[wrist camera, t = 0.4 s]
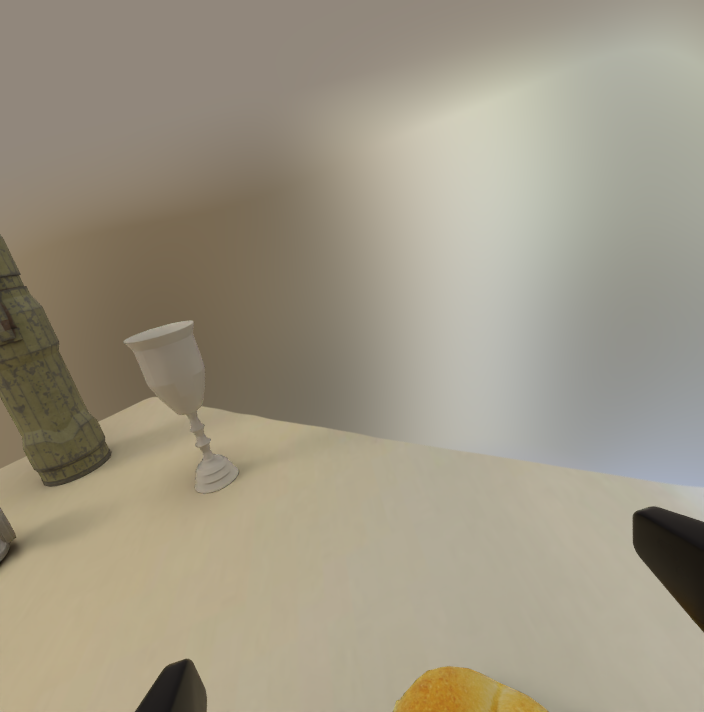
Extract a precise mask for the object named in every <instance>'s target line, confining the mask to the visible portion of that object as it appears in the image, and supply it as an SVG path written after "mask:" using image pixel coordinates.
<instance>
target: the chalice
mask: <svg viewBox="0 0 704 712" xmlns="http://www.w3.org/2000/svg"><path fill="white" fill-rule="evenodd" d="M193 326H194V322H193V321H183V322H178V323H173V324H169V325H165V326H161V327H158V328H154V329H151V330H148V331H145V332H142V333H139V334H136V335H134V336H132V337H130V338H127V339H126V340H124V343H125V344H126V345H127V346H128V347H129V348H130V349H131V350H133V352H134V354H135V356H136V359H137V361H138V363H139V366H140V369H141V371H142V373H143V376H144V378H145V380H146V383H147V385H148V387H149V388H150V389H151V390H152V391H153V392H154V393H155V394H156V395H157V397H158V398H159V399H160V400H161V401H163V402H164V403H165V404H166V405H167V406H168V407H170V408H171V409H172V410H173V411H174V412H176V413H177V414H178V415H187V417H188V418H189V419H190V424H191V429H190V431H191V432H193V433H194V434H195V436H196V438H197V442H196V444H195V446H196V447H199V448H200V450H201V451H202V452H203V459H202V461H201V462H200V463H199V464H198V467H197V469H196V478H195V480H196V484H195V490H196V491H197V492H199V493H210V492H214V491H217V490H219V489H221V488H224V487H225V486H227V485H228V484H230V483H231V482H232V481H233V480H234V479H235V478H236V477H237V475H238V472H239V470H238V468H237V467H236V466H234V465H233V463H232V462H231V461H229V460H228V458H227V457H225V456H223V455H219V454H218V455H216V454H213V453H212V452H211V450H210V445H209V443H210V441H211V439H210V438H207V437H206V436H205V434H204V426H205V425H204V424H202V423H201V422H200V420H199V419H198V417H197V410H198V409H199V408H200V407H201V406H202V404H203V396H204V387H205V366H204V363H203V360H202V358H201V355H200V352H199V349H198V346H197V344H196V341H195V338H194V335H193Z"/></svg>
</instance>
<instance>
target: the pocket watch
mask: <svg viewBox="0 0 704 712" xmlns="http://www.w3.org/2000/svg"><path fill="white" fill-rule="evenodd" d="M15 538H16V535H15V532H14V530H13V528H12V527H11V525H10V523H9V521H8V520H7V518H6V516H5V515H4V513H3V511H2V510H1V508H0V561H1V560H2V559H3V558H4V557H5V556H6V554H7V552H8V550H9V542H11V541H13V539H15Z"/></svg>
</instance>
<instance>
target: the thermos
mask: <svg viewBox="0 0 704 712" xmlns="http://www.w3.org/2000/svg"><path fill="white" fill-rule="evenodd" d="M19 275H20V272H19V270H18V268H17V266H16V264H15V262H14V260H13V258H12V256H11V254H10V251H9V249H8V247H7V245H6V243H5V241H4V239H3V237H2V236H1V235H0V397H1V399H2V401H3V403H4V405H5V407H6V409H7V410H8V412H9V414H10V416H11V417H12V419H13V421H14V423H15V425H16V427H17V428H18V430H19V432H20V434H21V436H22V441H23V450H24V452H25V454H26V456H27V458H28V459H29V461H30V463H31V465H32V467H33V468H34V470H36V471H37V472H38V473H39V474H40V476H41V479H42V481H43V483H44V485H45V486H57V485H61V484H65V483H68V482H71V481H73V480H76V479H78V478H80V477H82V476H84V475H86V474H88V473H90V472H92V471H93V470H95V469H97V468H98V467H100V466H101V465H102V464H103V463H105V462H106V461H107V460H108V459H109V457H110V456H111V451H110V449H109V448H108V446H107V444H106V442H105V436H104V433H103V431H102V429H101V427H100V425H99V423H98V421H97V420H96V419H95V418H94V417H93V416H92V415H91V414H89V412H88V410H87V408H86V406H85V404H84V402H83V400H82V398H81V396H80V394H79V392H78V390H77V388H76V385H75V383H74V381H73V379H72V377H71V375H70V373H69V371H68V369H67V367H66V365H65V363H64V361H63V359H62V356H61V354H60V353H59V341H58V339H57V336H56V334H55V332H54V330H53V328H52V326H51V324H50V322H49V320H48V318H47V316H46V314H45V311H44V309H43V307H42V306H41V305H40V304H39V303H38V302H37V301H36V300H35V299H34V298H33V297H32V296H31V294H30V293H29V291H28V289H27V287H26V286H24V285H23V283H22V281H21V278H20V276H19Z"/></svg>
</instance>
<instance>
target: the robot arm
mask: <svg viewBox="0 0 704 712" xmlns="http://www.w3.org/2000/svg"><path fill="white" fill-rule="evenodd" d="M633 545H634V548H635V550H636V552H637V554H638V555H639V557H640V558H641V559H642V560H643V562H644V563H645V564H646V565H647V566H648V567H649V569H650V570H651V571H652V572H653V573H654V575H655V576H656V577H657V578H658V579H659V580H660V582H661V583H662V584H663V585H664V586H665V588H666V589H667V590H668V591H669V592H670V593H671V595H672V596H673V597H674V598H675V599H676V601H677V602H678V603H679V604H680V605H681V607H682V608H683V609H684V610H685V611H686V612H687V614H688V615H689V616H690V617H691V618H692V620H693V621H694V622H695V623H696V624H697V625H698V626H699V627H700V629H701V630H702V631H703V632H704V522H702V521H699V520H696V519H693V518H690V517H687V516H684V515H681V514H678V513H674V512H671V511H668V510H665V509H662V508H659V507H654V506H653V507H648V508H644V509H641V510H638V511H636V512H635V513H634V514H633ZM135 712H207V696H206V690H205V687H204V685H203V683H202V681H201V678H200V676H199V674H198V672H197V670H196V668H195V665H194V663H193V662H192V661H191V660H190V659H184V660H181V661H178V662H175V663H172V664H169V665H168V666H166V667H165V668H164V669H163V671H162V672H161V673H160V675H159V676H158V678H157V679H156V681H155V682H154V684H153V685H152V687H151V688H150V690H149V691H148V693H147V694H146V696H145V697H144V699H143V700H142V702H141V703H140V705H139V706H138V708H137V709H136V711H135Z"/></svg>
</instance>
